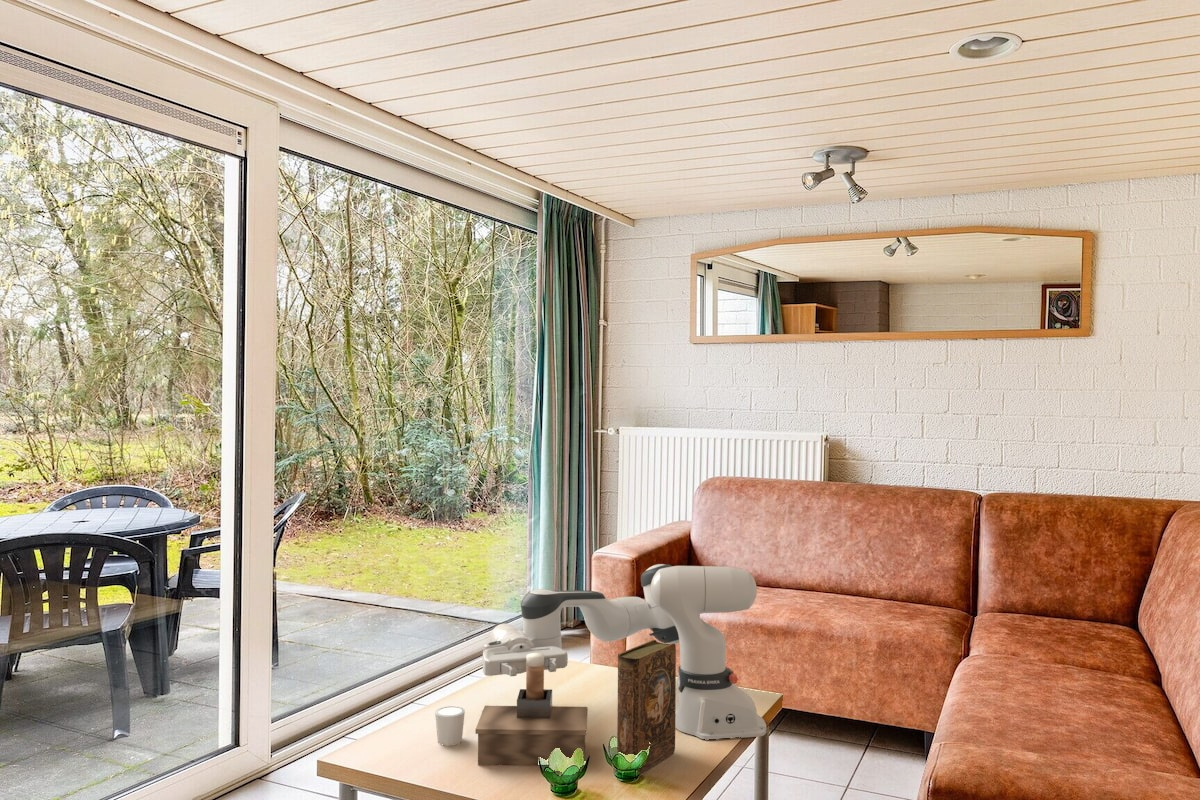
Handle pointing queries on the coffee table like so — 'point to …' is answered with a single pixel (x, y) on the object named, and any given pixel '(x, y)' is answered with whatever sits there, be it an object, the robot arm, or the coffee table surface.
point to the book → (647, 701)
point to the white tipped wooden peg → (535, 676)
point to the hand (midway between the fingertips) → (533, 670)
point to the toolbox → (529, 731)
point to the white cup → (449, 725)
